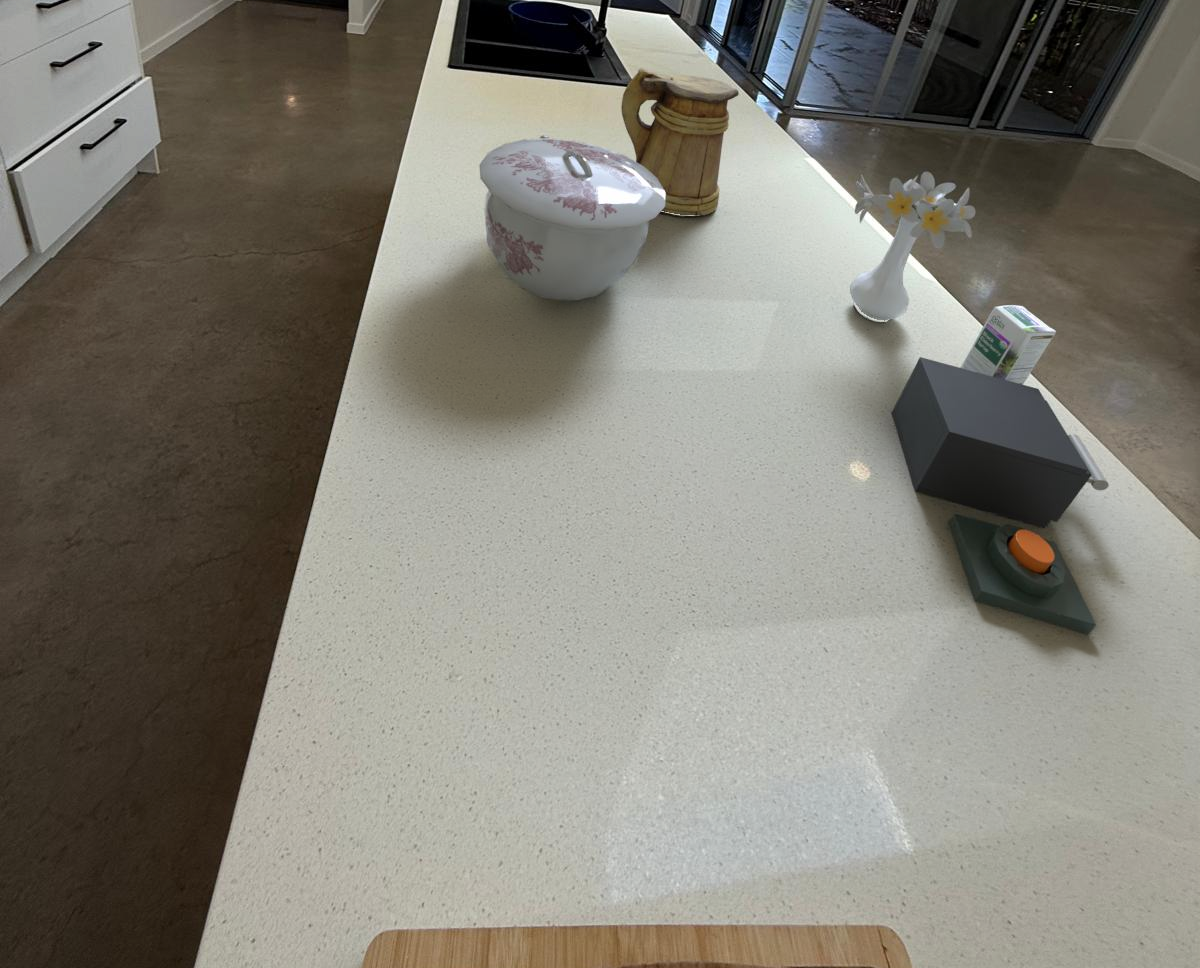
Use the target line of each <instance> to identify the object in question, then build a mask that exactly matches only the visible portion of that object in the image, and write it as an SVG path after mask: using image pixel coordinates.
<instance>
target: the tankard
mask: <svg viewBox="0 0 1200 968" xmlns="http://www.w3.org/2000/svg"><path fill="white" fill-rule="evenodd" d="M637 71H638V72H637V74H635V75H634V76H633V77H632V78H631V80H629V82H628V83H627V86H626V87H625V90H624V92H623V94H622V99H621V116H622V119H623V123H624V126H625V130H626V132H627V135H628V136H629V138H630V140H631V143H632V145H633V149H634V153H635V162H637V163H639V164H641V165H642V166H644V167H645V168H646V169H647V170H648V171H649V172H651V173H652V174H653V175H654V176H655V177H657V179H658V181H659V182H660V184H661V186H662V187H663V189H664V191H665V193H666V199H665V207H664V208H663V209H662V210H661V211H664V212H669V213H674V214H680V215H700V216H706V214H707V215H710V214H712V213H713V212H715V210H716V209H717V208H718V205H719V199H720V187H719V184H718V181H719V175H720V174H719V173H720V165H721V159H722V158H721V157H722V148H723V142H724V133H725V132H726V131H727V130H728V129H729V120H730V112H729V110H728V103H729V101H730V100H732V99H734V98H736V97H738V96H739V90H738V88H737V87H735V86H732V85H730V84H728V83H726V82H724V81H721V80H717V79H713V78H708V77H702V76H696V75H695V76H694V75H685V74H684V75H683V74H673V75H669V74H667V75H665V74H659V73H657V72H655V71H650V70H648V69H645V68H639V69H638V70H637ZM647 101H655V102H654V103H652V105H651V106H650V112H651V114H652V116H653V117H654V118H653V121H652V123H651V124H647V123H646V122H643V121H642V118H641V117H640V110H641V107H642V105H643V104H644V103H645V102H647ZM711 212H712V213H711ZM709 213H710V214H709Z"/></svg>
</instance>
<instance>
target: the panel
mask: <svg viewBox="0 0 1200 968" xmlns="http://www.w3.org/2000/svg"><path fill="white" fill-rule="evenodd" d="M947 524H948V527H949V529H950V532H951V536H952V538H953V542H954V545H955V547H956V551H957V553H958V556H959V560H960V562H961V565H962V568H963V571H964V574H965V577H966V580H967V583H968V586H969V589H970V592H971V594H972V597H973V600H974V602H976V603H980V604H982V605H986V606H989V607H993V608H996V609H999V610H1003V611H1006V612H1009V613H1012V614H1015V615H1016V614H1017V615H1019V616H1023V617H1026V618H1029V619H1033V620H1036V621H1039V622H1043V623H1047V624H1049V625H1052V626H1056V627H1059V628H1063V629H1067V630H1070V631H1073V632H1077V633H1080V634H1083V635H1087V636H1089V635H1090V634H1091V632H1093V630H1094V629H1095V628H1096V627H1097V623H1096V621H1095V619H1094V617H1093V615H1092V613H1091V610H1090V609H1089V606H1088V605H1087V603H1086V601H1085V599H1084V597H1083V594H1082V592H1081V590H1080V589H1079V587H1078V584H1077V582H1076V580H1075V578H1074V576H1073V574H1072V572H1071V570H1070V568H1069V566H1068V564H1067V561H1066V559H1065V558H1064V555H1063V554H1062V552H1061V550H1060V547H1059V546H1058V543H1057V542H1056V541H1053V540H1049V539H1047V538H1043V539H1044V540H1045V541H1046V542H1047V543H1048V544H1049V546H1050V547H1051V548H1052V550H1053V552H1054V556H1055V558H1054V561H1053V562H1052V564H1051V565H1050V566H1049V567H1048V569H1047V570H1046V571H1045V572H1044V573H1034V572H1031V571H1030V570H1028V569H1027V568H1025V567H1024V566H1022V565H1021V564H1019V562H1018V561H1017V560H1016V559H1015V558H1014V557H1013V556H1012V555H1011V553H1010V551H1009V547H1008V545H1009V542H1010V541H1011V539H1012V538H1013V536H1014V535H1015V534H1016V532H1017V531H1018V530H1026V529H1025V528H1023V527H1019V526H1016V525H1013V524H1009V523H1008V524H1003V525H998V524H995V523H991V522H988V521H985V520H981V519H977V518H973V517H971V516H967V515H963V514H961V513H960V514H959V513H957V512H953V513H952V515H951V517H950V518H949V520H948V522H947Z"/></svg>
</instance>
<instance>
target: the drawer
mask: <svg viewBox="0 0 1200 968" xmlns="http://www.w3.org/2000/svg"><path fill="white" fill-rule="evenodd" d="M1045 401H1046V402H1047V404H1048V406H1049V407H1050V409H1051V410H1052V412H1053V414H1054V415H1055V417H1056V419H1057V420H1058V422H1059V424H1060V425H1061V427H1062V429H1063V430H1064V432H1065V434H1066V435H1067V437H1068V438H1069V440H1070V442H1071V443H1072V445H1073V447H1074V448H1075V450H1076V452H1077V453H1078V455H1079V457H1080V458H1081V460H1082V461H1083V463H1084V465H1085V466H1086V468H1087V470H1088V471H1087V472H1086V473H1085V475H1084V476H1083V477H1082V479H1081V480H1080V481H1079V483H1078V484H1077V485H1076V487H1075V488H1074V490H1073V491H1072V492H1071V494H1070V495H1069V496H1068V498H1067V499H1066V501H1065V502H1064V503H1063V505H1062V506H1061V507H1060V509H1059V510H1058V511H1057V513H1056V514H1055V516H1054V517H1053V518H1052V520H1051V521H1052V522H1056V523H1058V521H1059V520H1060V519H1061V518H1062V517H1063V515H1064V513H1065V512H1066V511H1067V509H1068V508H1069V507H1070V505H1071V504H1072V503H1073V501H1075V499H1076V497H1077V496H1078V494H1079V493H1080V492H1081V490H1082V489H1083V488H1084V486H1085V485H1086V484H1087V483H1088V484H1090V486H1092V488H1093V489H1094V490H1096V491H1105V490H1107V489H1108V488H1109V486H1110V485H1109V482H1108V480H1107V479H1106V478H1105V476H1104V474H1103V472H1102V471H1101V469H1100V468H1099V466H1098V465H1097V463H1096V461H1095V460H1094V457H1092V455H1091V453H1090V452H1089V450H1088V448H1087V447H1086V446H1085V443H1084V442H1083V441H1082V439H1081V437H1080V436H1079V435H1078V434H1074V433H1071V434H1068V433H1067V431H1066V430H1065V428H1064V427H1063V425H1062V423H1061V422H1060V420H1059V418H1058V417H1057V415H1056V413H1055V412H1054V410H1053V409H1052V407H1051V405H1050V404H1049V402H1048V401H1047V400H1046V399H1045ZM1051 521H1050V522H1051Z"/></svg>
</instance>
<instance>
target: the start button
mask: <svg viewBox="0 0 1200 968" xmlns="http://www.w3.org/2000/svg"><path fill="white" fill-rule="evenodd" d="M1044 539H1045V538H1043V537H1042V536H1040V535H1039V534H1037V533H1036V532H1033V531H1031V530H1028V529H1025V530H1018V531H1017V532H1016V534H1015V535H1014V536H1013V538H1012V539H1011V541H1010V542H1009V545H1008V547H1009V551H1010V553H1011V555H1012V556H1013V557H1014V558H1015V559H1016V560H1017V561H1018V562H1019V564H1021V565H1022V566H1024V567H1025V568H1027V569H1028V570H1030V571H1031V572H1034V573H1044V572H1045V571H1046V570H1047V569H1048V567H1049V566H1050V565H1051V564H1052V562H1053V561H1054V558H1055V556H1054V552H1053V550H1052V548H1051V547H1050V546H1049V544H1048V543H1047V542H1046V541H1045V540H1044Z"/></svg>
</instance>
